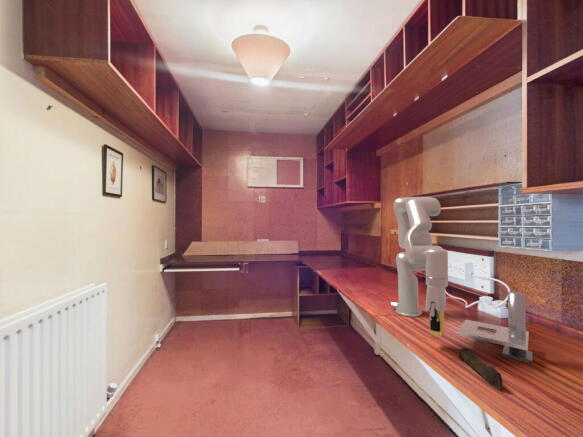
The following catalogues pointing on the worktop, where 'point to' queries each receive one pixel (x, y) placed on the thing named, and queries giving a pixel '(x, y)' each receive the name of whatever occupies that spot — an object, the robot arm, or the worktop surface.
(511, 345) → the gray plate with post
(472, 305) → the worktop surface
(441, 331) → the yellow block
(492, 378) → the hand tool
